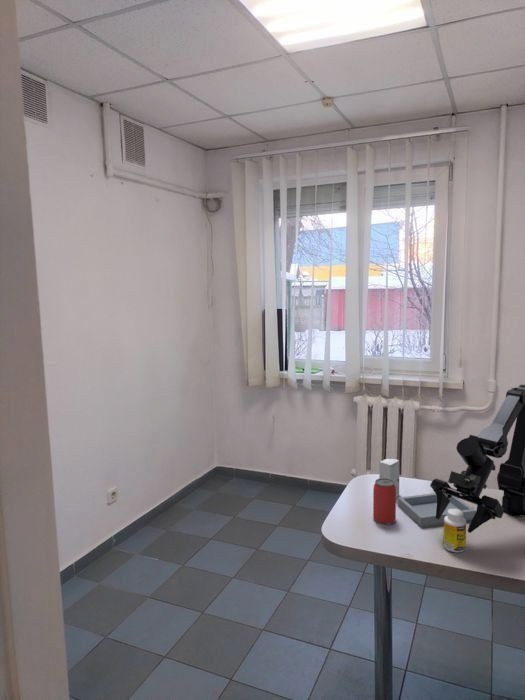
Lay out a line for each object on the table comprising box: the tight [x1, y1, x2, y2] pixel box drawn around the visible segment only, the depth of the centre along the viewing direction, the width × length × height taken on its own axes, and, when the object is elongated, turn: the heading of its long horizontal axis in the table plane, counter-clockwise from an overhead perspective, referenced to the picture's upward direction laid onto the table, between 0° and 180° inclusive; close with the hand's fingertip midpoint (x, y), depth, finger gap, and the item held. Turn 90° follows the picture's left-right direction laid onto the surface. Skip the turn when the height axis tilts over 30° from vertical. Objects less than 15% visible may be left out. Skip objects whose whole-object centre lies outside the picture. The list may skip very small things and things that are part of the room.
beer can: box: [372, 478, 397, 525], centre depth 145 cm, size 7×7×12 cm
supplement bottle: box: [442, 509, 467, 553], centre depth 129 cm, size 6×6×10 cm
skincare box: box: [378, 457, 400, 498], centre depth 162 cm, size 6×4×12 cm
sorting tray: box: [397, 492, 477, 529], centre depth 149 cm, size 18×14×3 cm
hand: (452, 525), depth 128 cm, fingers open, 9 cm apart
